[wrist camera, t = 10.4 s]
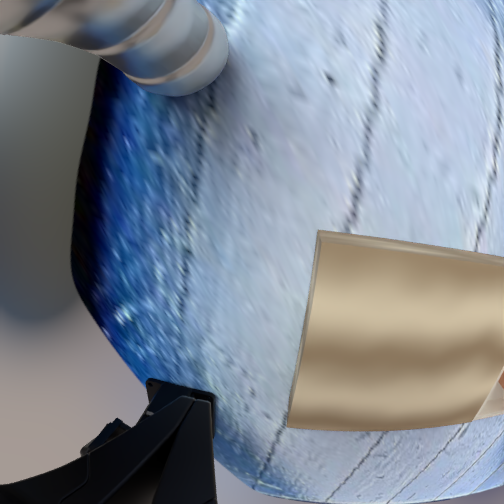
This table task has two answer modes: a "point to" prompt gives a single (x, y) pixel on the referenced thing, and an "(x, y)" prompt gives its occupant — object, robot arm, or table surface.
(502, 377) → the tile
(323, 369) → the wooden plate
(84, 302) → the table surface
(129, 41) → the plastic bottle
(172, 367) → the table surface
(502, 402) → the tray
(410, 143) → the table surface
